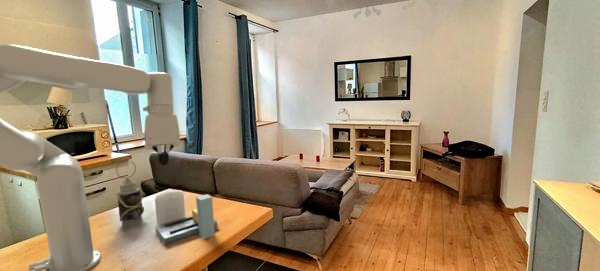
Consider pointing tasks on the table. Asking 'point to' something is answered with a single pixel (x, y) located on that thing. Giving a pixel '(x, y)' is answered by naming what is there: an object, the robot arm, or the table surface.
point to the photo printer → (169, 206)
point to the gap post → (205, 216)
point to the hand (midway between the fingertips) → (163, 164)
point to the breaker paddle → (195, 214)
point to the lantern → (129, 202)
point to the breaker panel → (178, 230)
